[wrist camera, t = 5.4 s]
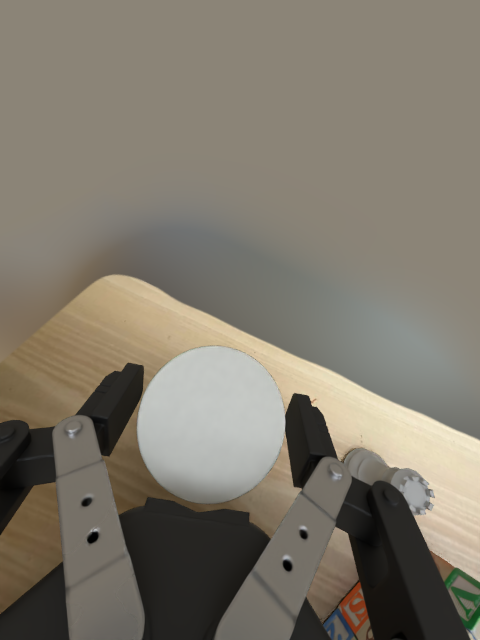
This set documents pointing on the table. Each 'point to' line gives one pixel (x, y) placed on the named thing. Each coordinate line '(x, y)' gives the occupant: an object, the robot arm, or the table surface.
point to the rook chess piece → (391, 478)
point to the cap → (211, 424)
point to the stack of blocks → (353, 622)
